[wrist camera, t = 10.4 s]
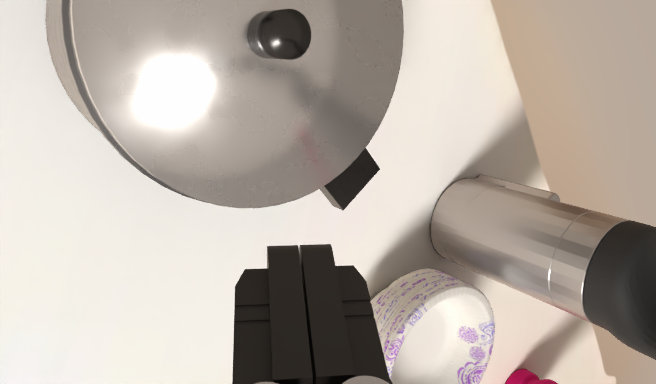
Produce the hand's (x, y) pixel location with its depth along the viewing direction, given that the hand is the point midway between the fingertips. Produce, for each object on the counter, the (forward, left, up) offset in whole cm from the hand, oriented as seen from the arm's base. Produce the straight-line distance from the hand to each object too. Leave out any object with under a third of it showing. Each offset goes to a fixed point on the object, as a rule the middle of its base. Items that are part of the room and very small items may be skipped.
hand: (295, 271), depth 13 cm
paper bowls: (-14, +33, -29) cm, 46 cm away
